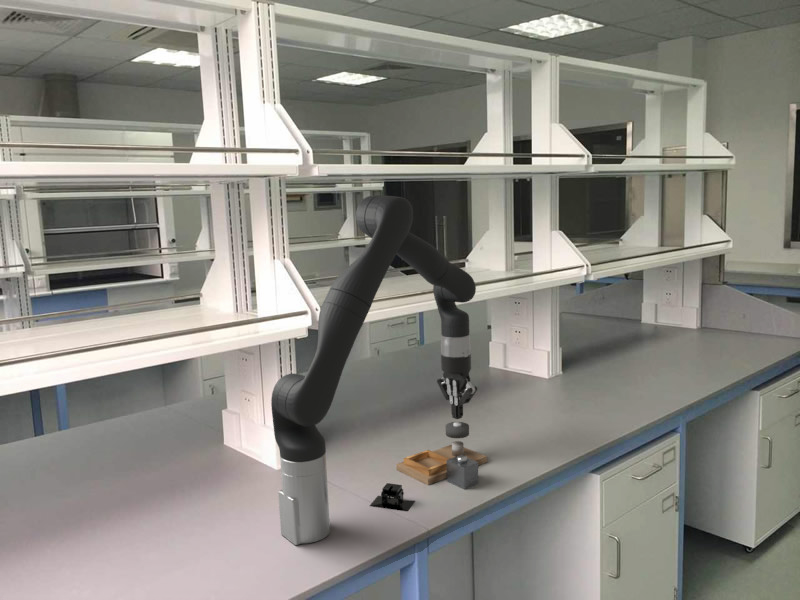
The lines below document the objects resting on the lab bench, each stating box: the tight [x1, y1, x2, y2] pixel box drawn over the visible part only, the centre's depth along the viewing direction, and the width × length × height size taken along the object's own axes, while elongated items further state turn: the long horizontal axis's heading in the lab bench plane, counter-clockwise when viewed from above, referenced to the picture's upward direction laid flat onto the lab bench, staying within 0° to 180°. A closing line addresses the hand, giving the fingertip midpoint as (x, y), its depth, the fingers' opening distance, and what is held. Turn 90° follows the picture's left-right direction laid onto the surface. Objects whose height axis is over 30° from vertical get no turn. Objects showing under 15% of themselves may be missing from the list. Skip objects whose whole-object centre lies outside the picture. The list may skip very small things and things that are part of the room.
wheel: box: [445, 421, 470, 439], centre depth 170 cm, size 6×6×3 cm
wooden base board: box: [396, 440, 488, 486], centre depth 167 cm, size 20×12×4 cm, turn 129°
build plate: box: [369, 482, 416, 513], centre depth 148 cm, size 12×7×5 cm, turn 70°
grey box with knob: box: [446, 455, 479, 490], centre depth 157 cm, size 5×6×6 cm
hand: (457, 417), depth 169 cm, fingers closed
